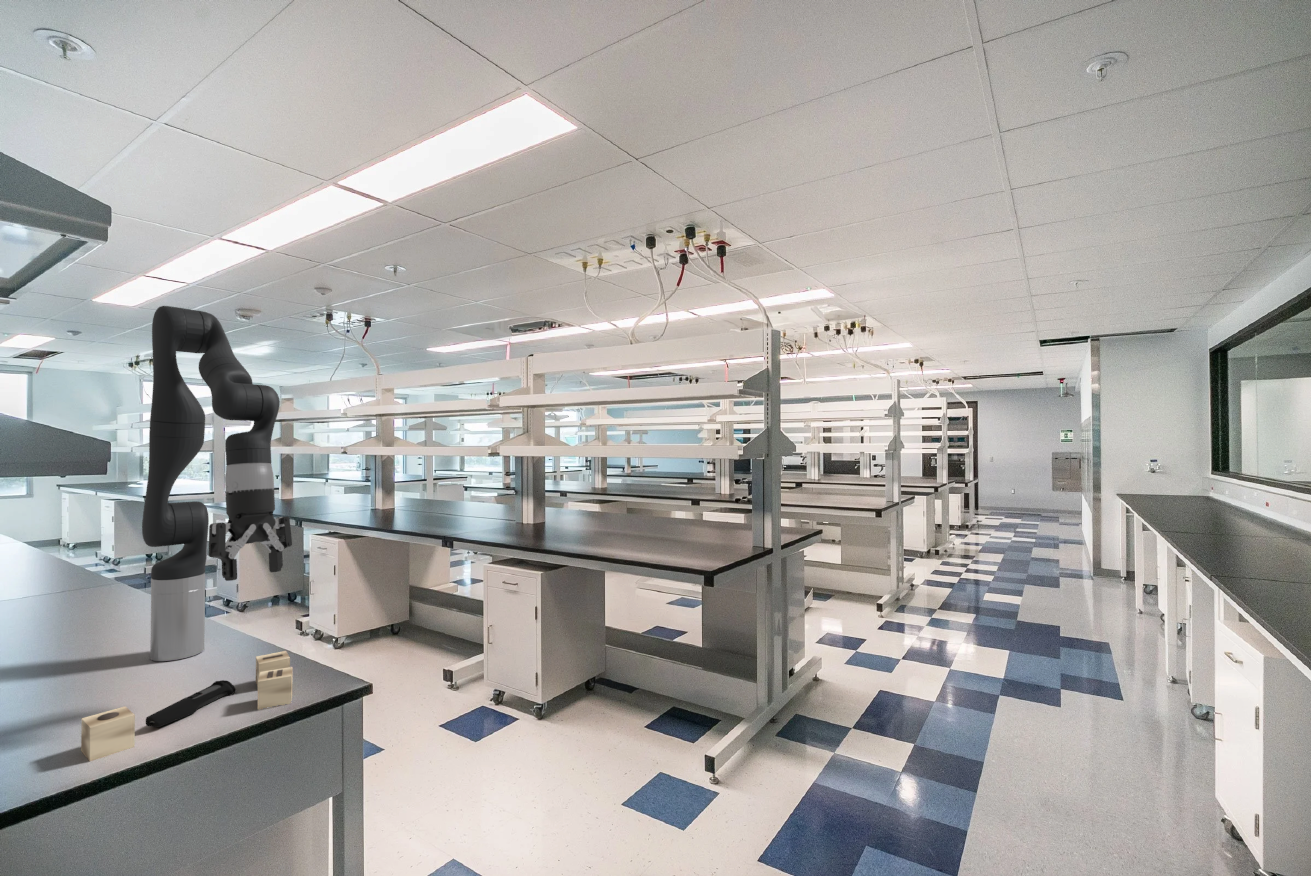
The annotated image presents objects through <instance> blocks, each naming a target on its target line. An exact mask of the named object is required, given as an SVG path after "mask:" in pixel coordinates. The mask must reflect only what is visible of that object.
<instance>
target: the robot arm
mask: <svg viewBox="0 0 1311 876" xmlns="http://www.w3.org/2000/svg"><path fill="white" fill-rule="evenodd" d="M151 343H152V347H151V348H152V373H153V374H152V375H153V376H152V377H153V378H152V380H153V382H152V395H151V397H152V398H151V407H150V408H151V409H150V418H149V419H150V421H149V438H148V439H149V440H148V441H149V443H148V444H149V445H148V446H149V447H148V448H149V452H148V472H147V473H148V474H147V482H146V483H147V484H146V492H145V499H144V505H143V511H142V512H143V514H142V522H141V534H142V539H143V541H144V544H146V545H147V547H151V548H158V547H169V546H178V545H183V546H182V548H181V550H179V551H178V552H177V553H175V554H174V555H172V556H170V557H167V558H165V559H163V560H160V561H159V562H156V563H155V564H153V565H152V566H151V569H150V570H151V571H150V578H151V579H150V645H149V646H150V651H149V654H150V655H149V656H150V657H149V658H150V660H151V661H154V662H166V661H176V660H182V659H186V658H189V657H193V656H196V655H199V654H201V653H202V652H204V650H205V642H206V641H205V640H206V639H205V633H206V629H205V628H206V626H205V625H206V624H205V623H206V613H205V612H206V564H207V557H209V558H215V559H219V560H220V561H221V575H222V578H223V579H224V580H225V581H226V582H227V581H228V582H229V581H230V582H233V581H236V580H238V564H237V562H238V561H237V558H236V556H237V555H238V553H239V552H240V550H241V549H243V548H244V546H245V545H249V544H255V543H260V544H261V545H263V546H265V548H266V549H267V550H268V551H269V552H268V569H269V572H270V573H278V572H281V570H282V569H283V567H284V566H283V565H284V561H283V551H284V550H285V549H287V548H288V547H289V548H290V547H292V546H293V538H292V529H291V519H290V517H289V516H287V515H286V516H277V517H276V518H275V517H274V512H275V510H276V503H275V502H276V500H275V499H276V498H275V478H274V477H275V476H274V472H273V466H272V448H271V446H272V443H271V442H272V437H273V433H274V432H273V431H274V428H275V424H276V421H277V417H278V413H279V411H280V404H281V401H280V396H279V394H278V393H277V391H276V390H275V389H274V388H273V387H272V386H269V385H265V384H254V383H253V378H252V376H251V375H250V374H249V372H248V370H247V369H246V368H245V367H244V366H243V364H242V363H241V362H240V361H239V359H238V358H237V357H236V356H235V354H234V352H233V349H232V347H231V344H230V341H229V339H228V337H227V335H226V332H225V330H224V328H223V326H222V324H221V322H220V321H219V319H218V318H217V317H216V316H215V315H214V314H212V313H209V312H206V311H203V310H196V309H191V308H190V309H189V308H184V307H178V306H177V307H176V306H170V305H161V306H159V307H158V308H157V309H156V310H155V312H154V314H153V316H152V324H151ZM177 352H180V353H190V354H202V355H201V357H200V359H199V362H198V371H199V375H200V377H201V379H202V380H203V381H204V383H205V384H206V386H207V387H208V388H209V390H210V394H211V407H212V411H213V413H214V414H215V415H216V416H217V417H219V418H221V419H224V420H227V421H243V422H244V421H245V422H246V421H247V422H249V421H250V422H253V425H252V428H251V429H250V430H248V431H243V432H236V433H232V434H230V435H228V436H227V437H226V439H225V463H226V464H225V465H226V467H225V476H224V483H225V484H224V485H225V487H224V488H225V508H226V509H225V511H226V515H227V516H228V519H227V523H226V522H215V523H211V524H209V511H208V508H207V506H206V505H205V504H204V503H203V502H202V501H181V502H179V501H178V502H169V497H170V493H171V492H172V488H173V486H174V484H175V482H177V480H178V479H179V476H180V475H181V474H182V472H183V471H184V470H185V469H186V468H187V467H188V466H189V464H190V463H191V462H192V461H193V460H194V459H195V457H196V456H197V455H198V454H199V452H200V451H201V449H202V448H203V445H204V441H205V431H206V414H205V410H204V409H203V407H202V405H201V404H200V402H199V401H198V399H197V397H196V396H195V395H194V393H193V392H192V390H191V389H190V388H189V386H188V385H187V383H186V382H185V380H184V378H183V376H182V375H181V372H180V369H179V367H178V366H179V365H178V360H177ZM274 528H275V531H274V530H273V529H274ZM228 533H229V537H228V538H227V537H226V536H227V534H228ZM207 552H208V553H207ZM207 554H208V556H207Z"/></svg>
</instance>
